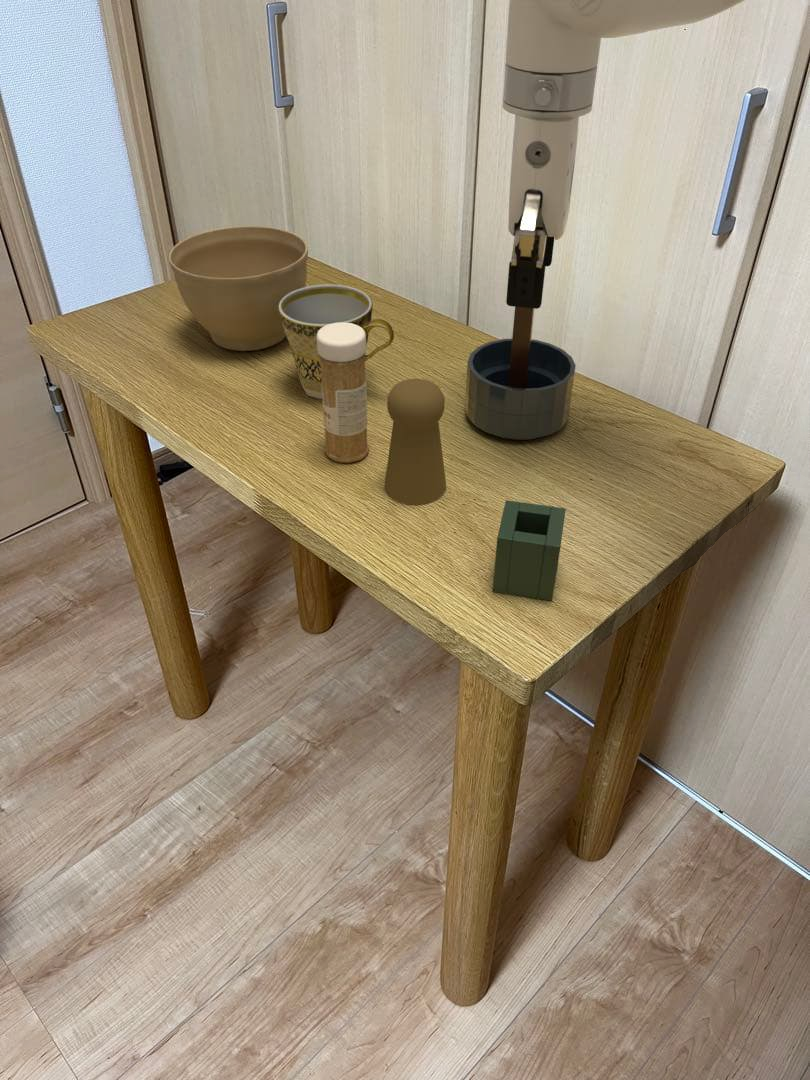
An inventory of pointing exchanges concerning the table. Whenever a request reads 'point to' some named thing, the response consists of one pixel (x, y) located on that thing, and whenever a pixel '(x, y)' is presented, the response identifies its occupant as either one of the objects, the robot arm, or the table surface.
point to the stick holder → (528, 550)
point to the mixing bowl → (519, 391)
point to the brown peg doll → (415, 443)
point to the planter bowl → (240, 282)
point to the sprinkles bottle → (344, 390)
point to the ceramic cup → (316, 310)
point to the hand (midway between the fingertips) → (529, 284)
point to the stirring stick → (521, 346)
